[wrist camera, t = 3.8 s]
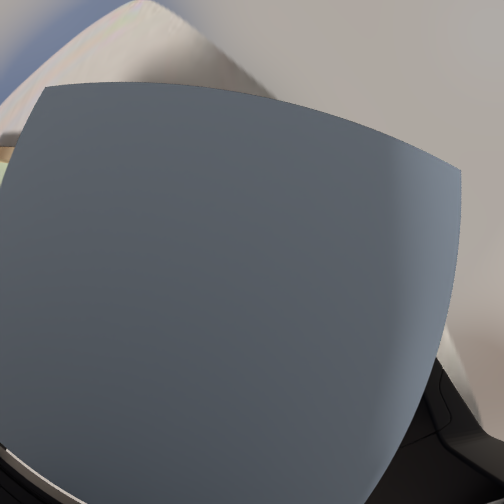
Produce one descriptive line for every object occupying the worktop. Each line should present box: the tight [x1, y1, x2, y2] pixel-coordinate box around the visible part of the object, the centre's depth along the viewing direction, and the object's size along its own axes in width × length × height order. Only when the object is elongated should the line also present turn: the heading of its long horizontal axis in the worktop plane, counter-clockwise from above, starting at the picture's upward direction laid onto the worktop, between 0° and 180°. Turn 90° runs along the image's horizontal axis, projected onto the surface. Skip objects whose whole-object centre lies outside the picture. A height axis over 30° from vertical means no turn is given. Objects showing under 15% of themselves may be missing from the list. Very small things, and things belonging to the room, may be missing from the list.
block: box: [0, 82, 461, 504], centre depth 9 cm, size 5×5×13 cm
